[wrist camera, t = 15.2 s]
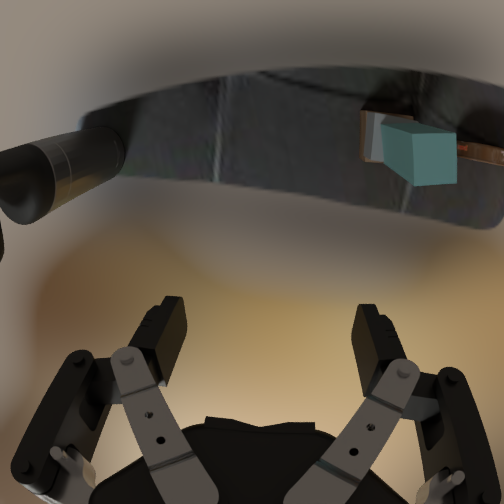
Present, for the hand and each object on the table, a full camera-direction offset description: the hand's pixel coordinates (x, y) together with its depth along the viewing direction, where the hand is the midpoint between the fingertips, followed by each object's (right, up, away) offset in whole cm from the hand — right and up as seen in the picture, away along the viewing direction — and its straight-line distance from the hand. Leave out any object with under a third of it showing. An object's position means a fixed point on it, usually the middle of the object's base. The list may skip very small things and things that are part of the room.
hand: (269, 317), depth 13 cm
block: (+17, +16, +19) cm, 30 cm away
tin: (+37, +20, +23) cm, 47 cm away
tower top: (+17, +18, +22) cm, 33 cm away
